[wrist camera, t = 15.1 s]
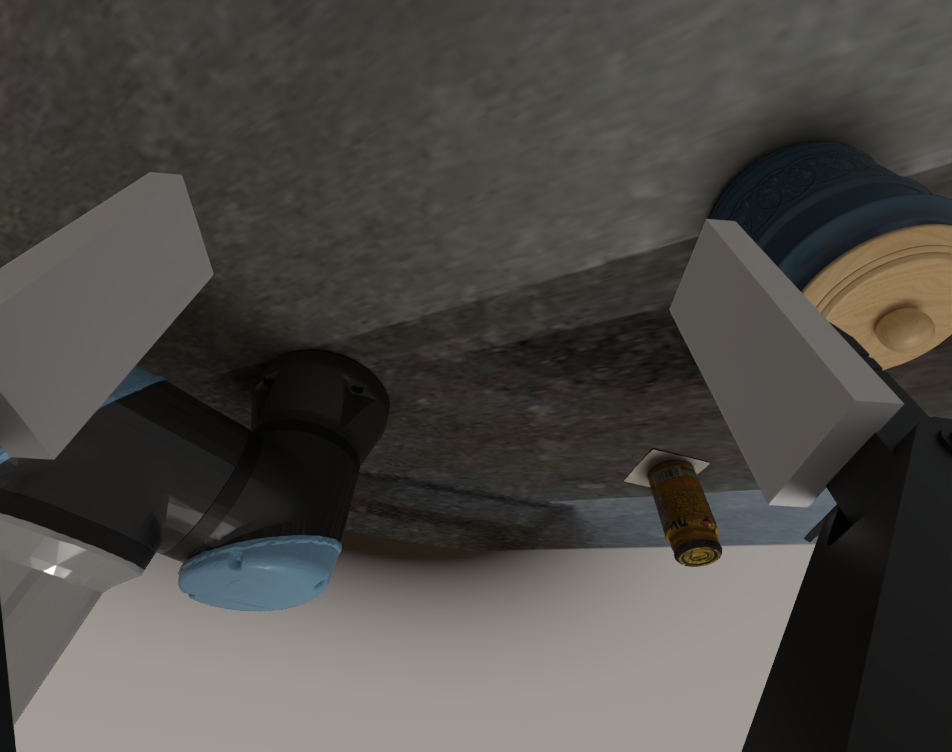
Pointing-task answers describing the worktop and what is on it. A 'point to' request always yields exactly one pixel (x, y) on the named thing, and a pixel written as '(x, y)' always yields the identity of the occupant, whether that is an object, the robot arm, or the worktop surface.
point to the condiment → (680, 506)
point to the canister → (852, 243)
